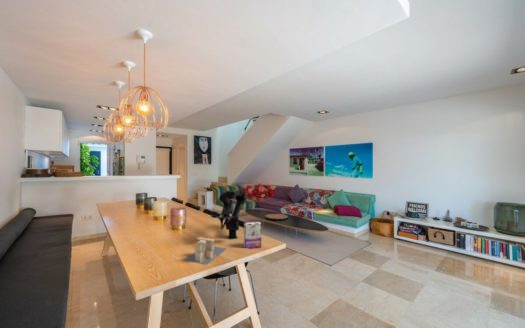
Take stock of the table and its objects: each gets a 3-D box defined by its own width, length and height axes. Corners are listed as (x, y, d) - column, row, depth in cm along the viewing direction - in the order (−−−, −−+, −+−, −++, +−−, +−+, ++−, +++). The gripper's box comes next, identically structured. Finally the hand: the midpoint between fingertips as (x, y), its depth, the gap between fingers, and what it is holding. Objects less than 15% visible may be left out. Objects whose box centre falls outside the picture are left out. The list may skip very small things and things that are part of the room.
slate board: (205, 246, 144) (206, 245, 144) (227, 249, 139) (227, 248, 139) (182, 261, 121) (182, 260, 121) (206, 265, 116) (206, 264, 116)
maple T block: (199, 253, 130) (199, 237, 130) (213, 256, 127) (214, 239, 127) (190, 259, 122) (190, 242, 122) (205, 262, 119) (205, 244, 119)
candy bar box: (259, 245, 148) (259, 221, 148) (261, 247, 143) (261, 223, 143) (243, 246, 145) (243, 222, 145) (244, 249, 140) (245, 224, 140)
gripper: (214, 200, 144) (208, 223, 136) (241, 206, 146) (236, 229, 138) (214, 205, 153) (208, 227, 145) (239, 211, 155) (234, 232, 147)
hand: (221, 229), depth 144 cm, fingers closed
